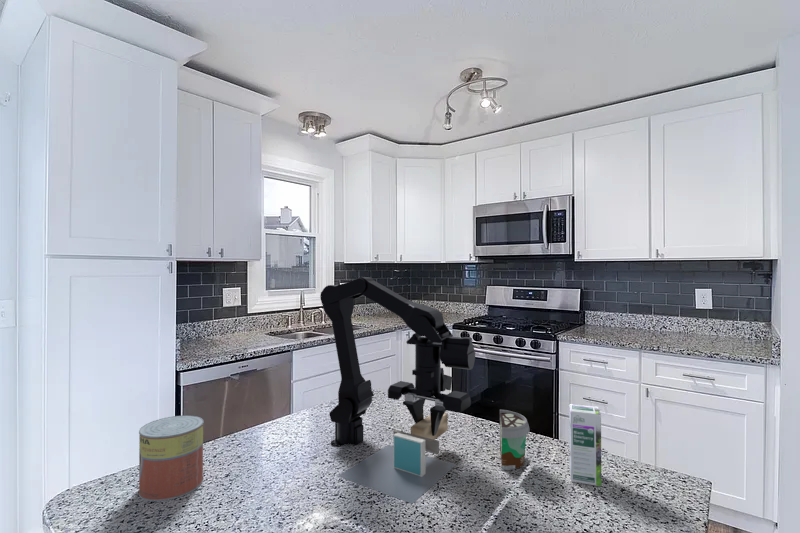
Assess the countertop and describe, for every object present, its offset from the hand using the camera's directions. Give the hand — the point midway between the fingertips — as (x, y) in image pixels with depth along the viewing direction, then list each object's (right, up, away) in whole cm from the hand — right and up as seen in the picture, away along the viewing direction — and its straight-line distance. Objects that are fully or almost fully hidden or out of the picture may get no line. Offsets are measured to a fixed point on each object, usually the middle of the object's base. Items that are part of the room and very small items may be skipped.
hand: (427, 433), depth 93 cm
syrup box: (+32, -6, -8) cm, 33 cm away
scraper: (+1, -1, +1) cm, 2 cm away
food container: (+19, -6, -2) cm, 20 cm away
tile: (-4, -5, -7) cm, 9 cm away
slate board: (-7, -6, -6) cm, 11 cm away
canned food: (-52, -6, -11) cm, 53 cm away
